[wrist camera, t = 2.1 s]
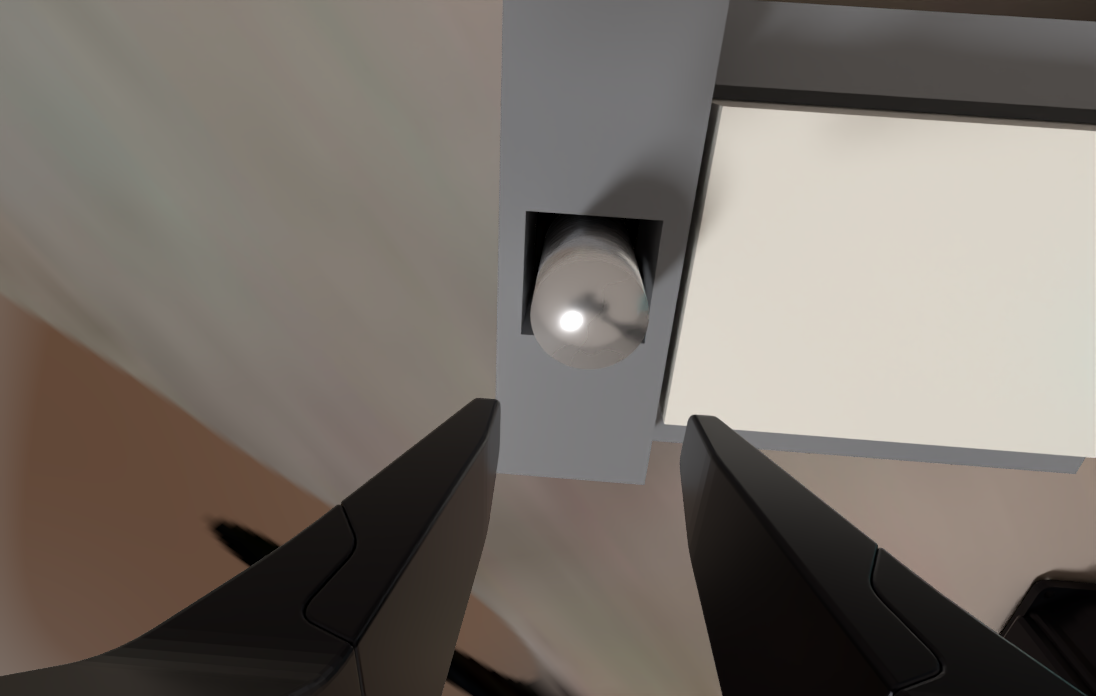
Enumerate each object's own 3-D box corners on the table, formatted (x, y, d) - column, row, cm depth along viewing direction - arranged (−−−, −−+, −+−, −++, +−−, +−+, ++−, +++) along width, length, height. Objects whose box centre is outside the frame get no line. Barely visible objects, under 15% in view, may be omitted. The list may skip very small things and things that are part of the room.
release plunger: (541, 285, 19) (527, 364, 14) (546, 201, 18) (532, 256, 13) (625, 291, 19) (640, 373, 14) (636, 207, 18) (657, 265, 13)
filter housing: (510, 393, 23) (494, 472, 19) (524, -5, 17) (503, -28, 12) (1027, 433, 23) (1135, 524, 18) (1243, 40, 16) (1489, 33, 12)
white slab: (651, 368, 21) (684, 516, 14) (695, 97, 17) (773, 122, 10) (1081, 400, 21) (1326, 568, 14) (1238, 133, 16) (1701, 185, 10)
